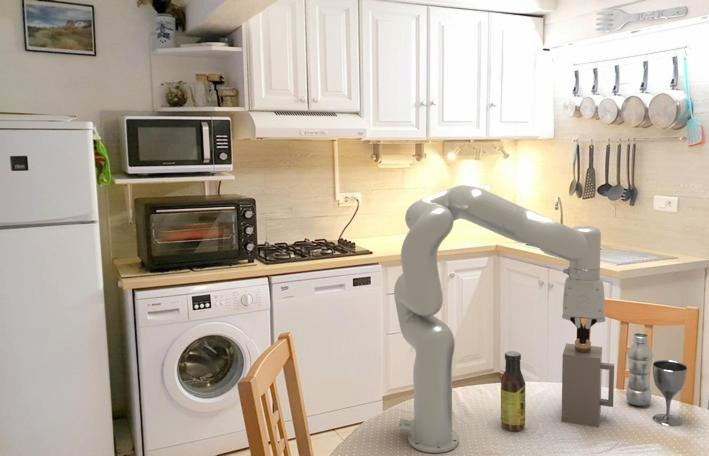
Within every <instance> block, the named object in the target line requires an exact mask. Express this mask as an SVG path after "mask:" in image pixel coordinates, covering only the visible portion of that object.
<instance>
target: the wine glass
mask: <svg viewBox="0 0 709 456" xmlns="http://www.w3.org/2000/svg"><path fill="white" fill-rule="evenodd" d="M652 363H653V364H652V376H653V377H652V378H653V382H654V384H655V386H656V388H657V389H658V390H659V392H660V393H661V394H662V395H663V398H664V399H665V405H666V406H665V408H666V411H665V413H657V414H655V415H653V416H652V419H653V421H654V422H656V423H657V424H660V425H663V426H667V427H678V426H681V425H683V423H684V421H683V420H682V419H681V418H680V417H679V416H676V415H673V414H670V411H671V404H672V400H673V398H674V397H675V396H677V394H679V393H680V392H682V390H683V389H684V387H685V384H686V380H687V376H688V366H687V365H685V364H684V363H681V362H679V361H675V360H667V359H662V360H661V359H660V360H656V361H654V362H652Z"/></svg>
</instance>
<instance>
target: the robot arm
mask: <svg viewBox="0 0 709 456" xmlns="http://www.w3.org/2000/svg"><path fill="white" fill-rule="evenodd" d="M404 215H405V217H404V219H405V220H404V221H405V224H406V227H407V228H408V230H409V231H408V232H407V234H406V236H405V238H404V240H403V242H402V245H401V251H400V260H401V268H402V274H400V276H398V278H397V279H396V281H395V284H394V289H393V294H394V303H395V307H396V313H397V319H398V323H399V327H400V331H401V334H402V337H403V339H404V340H405V341H406V343H408V345H409V346H411V347H412V348H413V349H414V350H415V358H414V363H413V370H412V372H413V376H412V379H413V381H412V383H413V416H414V417H413V419H411V420H408V419H405V418H399V422H398V423H399V424H398V426H399V427H400V431H404V432H409V433H408V443H409V445H410V446H411V447H413V448H414V449H415V450H417V451H421V452H424V453H430V454H431V453H432V454H434V453H435V454H440V453H446V452H450V451H452V450H453V449H455V448H457V447H458V446H459V442H460V438H459V437H460V436H459V435H458V433H457V432H456V431H454V430H453V375H452V374H453V360H454V353H455V347H456V341H455V337H454V334H453V332H452V330H451V328H450V327H449V326H448V325H447V324H446V323H445V322H443V321H442V320H441V319H439V318H438V317H436V316H435V315H436V314H438V313H439V312H440V310H441V309H442V306H443V302H444V296H443V288H442V284H441V278H440V273H439V266H438V250H439V248H440V247H441V244H442V242H444V240H445V239H446V238H447V237H448V236H449V234H450V233H451V232H452V229H453V228H454V221H457V220H459V219H461V220H465V221H468V222H470V223H472V224H475V225H477V226H479V227H482V228H484V229H486V230H489V231H490V232H494V234H495V233H496V234H497V235H500V236H502V237H504V238H507V239H509V240H512V241H515V242H519V243H521V244H526V245H530V246H533V247H536V248H539V250H540V251H541V252H543V253H544V254H545V255H548V256H551V257H554V258H558V259H562V260H565V261H568V264H569V265H568V267H567V268H563V271H562V273H563V274H566V275H568V276H567V277H566V278H565V281H564V287H563V297H562V315H561V318H562V319H563V320H567V321H569V322H571V323H572V324H573V325H574V326H575V327H576V340H579V343H582V342H583V343H585V344H586V341H587V340H588V341H590V328H591V327H593V326H594V325H595V324H597V323H598V324H600V323H605V322H606V315H605V304H606V301H605V287H604V281H603V279H602V278H601V277H600V276H601V248H602V247H601V240H602V239H601V238H602V235H601V233H602V232H601V230H600V228H598V227H597V226H590V225H589V226H588V225H580V226H573V227H569V226H567V225H565V224H563V223H561V222H558V221H556V220H554V219H552V218H548V217H546V216H543V215H541V214H539V213H537V212H536V211H533V210H531V209H528V208H525V207H524V206H521V205H518V204H516V203H514V202H512V201H510V200H507V199H505V198H503V197H501V196H499V195H497V194H494V193H492V192H490V191H488V190H487V189H484V188H480V187H477V186H471V185H466V184H465V185H456V186H453V187H451V188H447V189H446V190H445V189H444V190H442V191H440V192H438V193H435V194H432V195H429V196H427V197H424V198H421V199H419V200H417V201H415V202H414V203H412V204H411V205H409V207H408V208H407V210H406V212H405V214H404ZM582 319H586V321H585V324H584V325H583V323H582Z"/></svg>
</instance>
